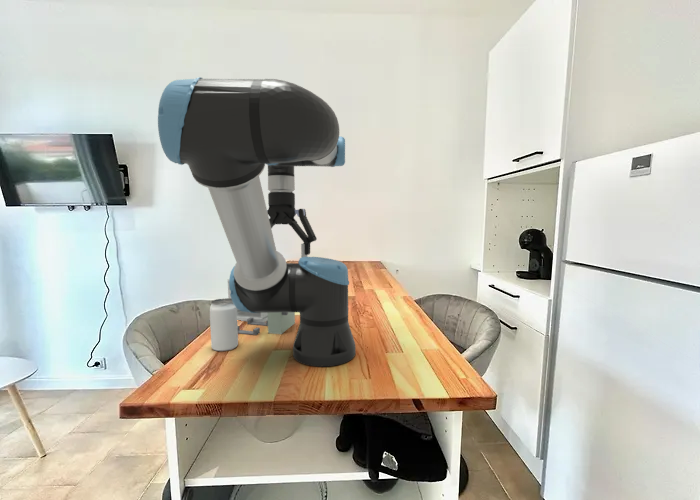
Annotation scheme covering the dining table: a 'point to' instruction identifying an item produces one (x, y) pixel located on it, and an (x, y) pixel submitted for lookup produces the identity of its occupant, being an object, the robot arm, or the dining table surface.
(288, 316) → the door
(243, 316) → the cabinet
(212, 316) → the can
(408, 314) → the dining table surface
